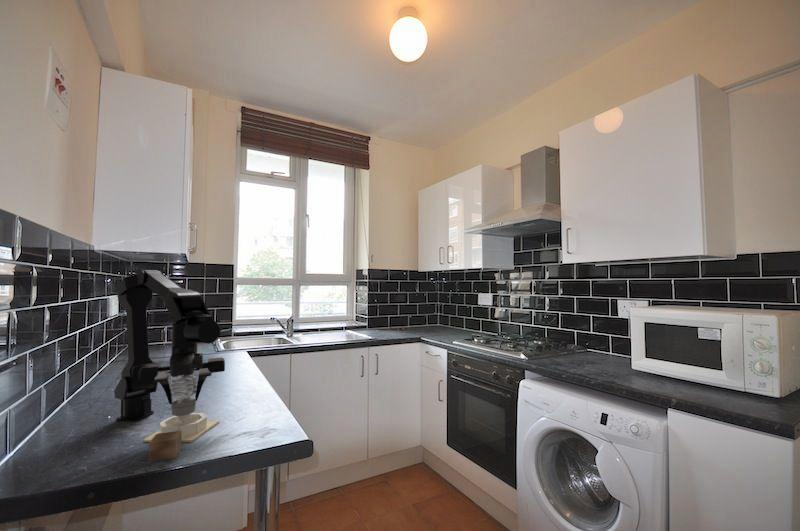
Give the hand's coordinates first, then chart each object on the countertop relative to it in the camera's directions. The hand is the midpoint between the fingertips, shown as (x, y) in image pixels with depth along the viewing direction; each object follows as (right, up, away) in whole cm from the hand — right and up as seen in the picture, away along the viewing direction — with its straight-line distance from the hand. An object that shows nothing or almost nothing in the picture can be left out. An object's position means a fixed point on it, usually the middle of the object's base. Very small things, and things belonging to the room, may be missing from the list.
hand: (183, 402), depth 92 cm
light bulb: (0, -5, 0) cm, 5 cm away
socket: (0, -7, 0) cm, 7 cm away
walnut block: (+4, -7, -13) cm, 15 cm away
